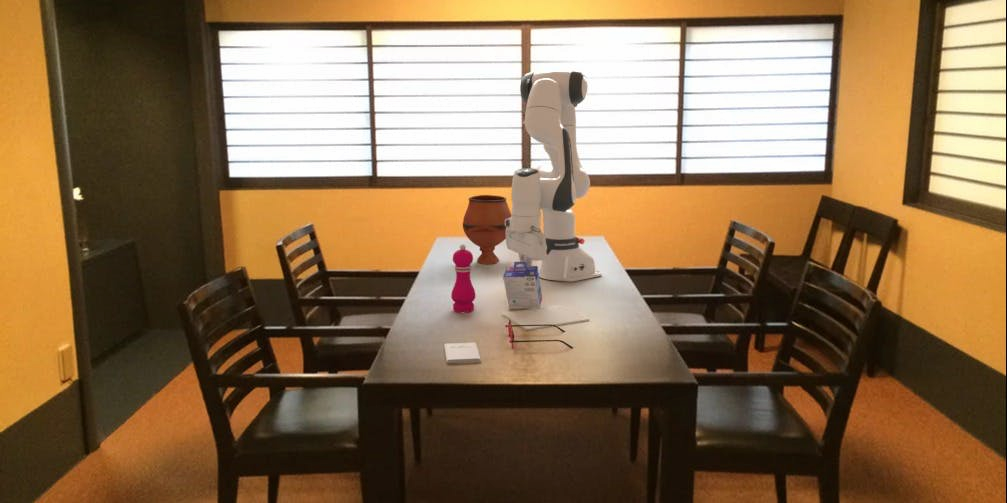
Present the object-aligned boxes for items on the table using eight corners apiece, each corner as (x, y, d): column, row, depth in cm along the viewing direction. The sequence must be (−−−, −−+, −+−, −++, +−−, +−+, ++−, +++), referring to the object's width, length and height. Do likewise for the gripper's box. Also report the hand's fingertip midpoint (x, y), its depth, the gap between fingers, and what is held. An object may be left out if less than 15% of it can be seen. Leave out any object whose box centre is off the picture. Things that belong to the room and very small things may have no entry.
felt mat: (561, 306, 229) (561, 305, 229) (589, 320, 215) (589, 319, 215) (501, 314, 221) (501, 313, 221) (526, 330, 207) (526, 328, 207)
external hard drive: (446, 366, 182) (444, 349, 194) (480, 364, 183) (476, 347, 195) (446, 359, 181) (444, 343, 193) (480, 358, 182) (476, 341, 194)
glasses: (505, 334, 205) (504, 316, 204) (565, 332, 206) (565, 315, 205) (509, 351, 191) (509, 332, 190) (573, 350, 192) (574, 331, 191)
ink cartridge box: (543, 296, 229) (537, 258, 221) (541, 308, 225) (535, 270, 216) (511, 297, 231) (504, 259, 223) (508, 309, 227) (501, 271, 218)
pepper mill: (479, 307, 229) (478, 242, 224) (470, 314, 222) (469, 247, 218) (457, 305, 231) (456, 241, 227) (447, 311, 224) (446, 246, 220)
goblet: (477, 269, 277) (476, 202, 272) (454, 259, 293) (453, 196, 288) (522, 263, 286) (522, 198, 281) (497, 254, 303) (497, 192, 297)
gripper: (552, 228, 215) (551, 275, 218) (520, 218, 233) (520, 261, 236) (532, 230, 213) (532, 278, 216) (502, 219, 231) (502, 263, 234)
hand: (525, 269), depth 226 cm, fingers closed
